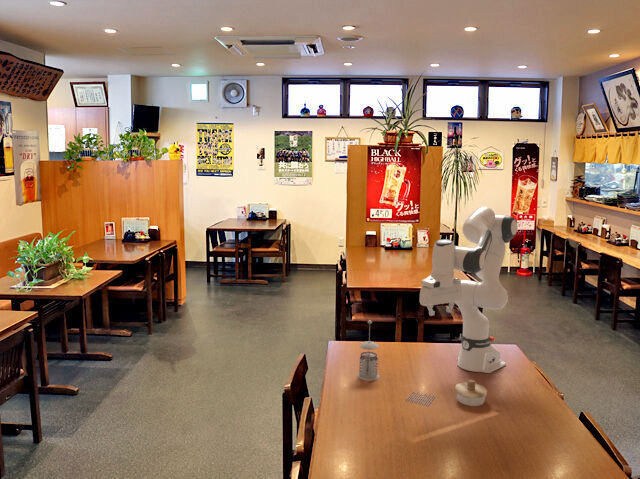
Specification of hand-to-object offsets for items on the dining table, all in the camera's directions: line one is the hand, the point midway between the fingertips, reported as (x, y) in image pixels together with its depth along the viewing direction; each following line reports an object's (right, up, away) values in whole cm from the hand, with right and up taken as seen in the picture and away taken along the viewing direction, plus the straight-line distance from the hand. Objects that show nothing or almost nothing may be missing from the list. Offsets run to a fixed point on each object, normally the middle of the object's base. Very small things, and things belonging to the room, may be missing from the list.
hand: (440, 313), depth 227 cm
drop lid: (+9, -28, -11) cm, 32 cm away
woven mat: (-10, -34, -10) cm, 37 cm away
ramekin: (+9, -34, -10) cm, 36 cm away
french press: (-28, -29, +14) cm, 43 cm away
